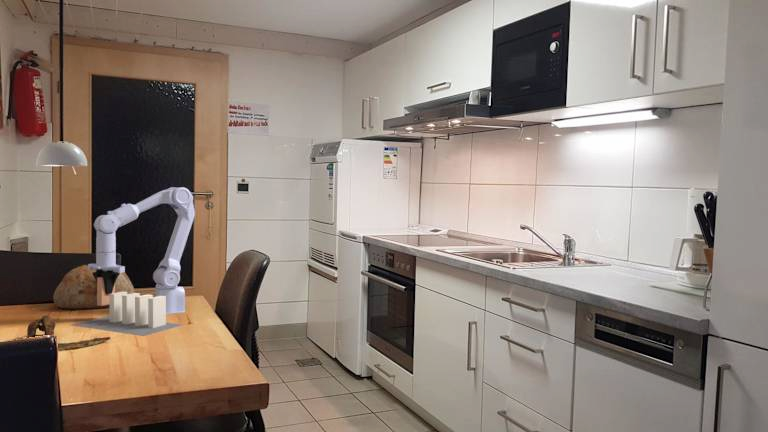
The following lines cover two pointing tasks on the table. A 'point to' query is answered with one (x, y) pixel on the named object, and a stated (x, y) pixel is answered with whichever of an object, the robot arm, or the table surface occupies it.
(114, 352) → the table surface
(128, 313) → the domino
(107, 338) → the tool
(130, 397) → the table surface
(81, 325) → the mat
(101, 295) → the domino
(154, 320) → the domino
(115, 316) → the domino
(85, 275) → the bread
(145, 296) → the domino
